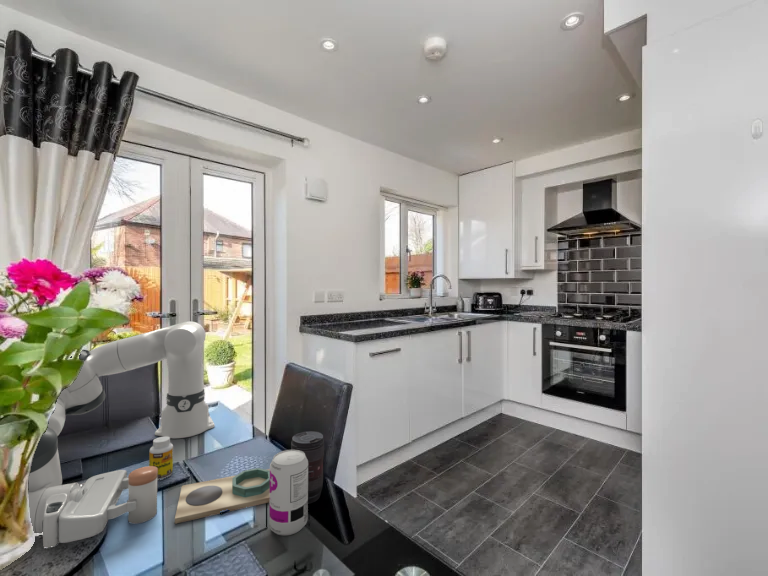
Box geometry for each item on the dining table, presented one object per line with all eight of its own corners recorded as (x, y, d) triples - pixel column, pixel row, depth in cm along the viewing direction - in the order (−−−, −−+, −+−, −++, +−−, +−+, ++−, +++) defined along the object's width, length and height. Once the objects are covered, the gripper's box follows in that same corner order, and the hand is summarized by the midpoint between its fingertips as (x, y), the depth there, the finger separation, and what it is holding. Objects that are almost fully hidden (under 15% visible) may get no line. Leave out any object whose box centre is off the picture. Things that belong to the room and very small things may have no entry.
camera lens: (330, 493, 90) (330, 435, 90) (306, 510, 84) (307, 446, 84) (307, 483, 95) (308, 427, 95) (283, 498, 88) (284, 438, 88)
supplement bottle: (149, 483, 94) (149, 445, 94) (149, 474, 99) (149, 437, 99) (173, 477, 97) (173, 440, 97) (172, 468, 102) (172, 433, 102)
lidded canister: (131, 511, 82) (131, 468, 82) (159, 506, 85) (159, 464, 85) (125, 526, 77) (125, 480, 77) (154, 520, 80) (155, 475, 80)
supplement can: (268, 540, 73) (269, 468, 73) (269, 516, 81) (270, 450, 81) (308, 533, 76) (309, 463, 76) (306, 510, 84) (306, 446, 84)
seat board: (181, 490, 91) (182, 477, 91) (271, 472, 100) (271, 461, 100) (174, 523, 78) (174, 509, 78) (277, 500, 87) (278, 487, 87)
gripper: (81, 495, 84) (150, 483, 90) (40, 555, 66) (130, 534, 71) (81, 469, 84) (150, 458, 90) (40, 521, 66) (130, 503, 71)
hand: (141, 492), depth 81 cm, fingers open, 8 cm apart
